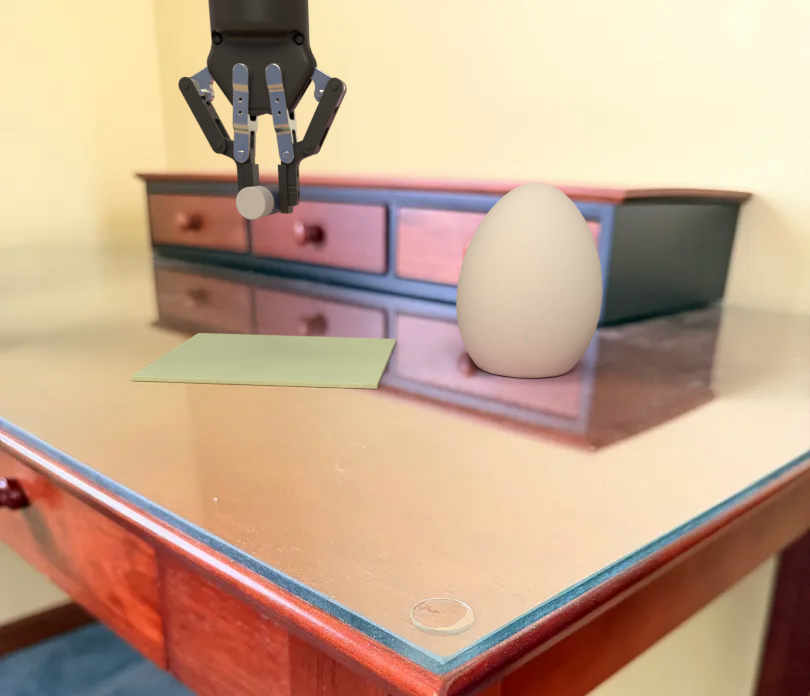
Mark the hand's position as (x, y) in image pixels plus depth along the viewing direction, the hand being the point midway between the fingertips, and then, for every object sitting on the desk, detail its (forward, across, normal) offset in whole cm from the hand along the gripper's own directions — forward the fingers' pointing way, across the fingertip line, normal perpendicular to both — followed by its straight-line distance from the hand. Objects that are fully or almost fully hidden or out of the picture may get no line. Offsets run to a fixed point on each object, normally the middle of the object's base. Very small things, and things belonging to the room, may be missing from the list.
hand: (270, 211), depth 68 cm
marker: (0, 0, 0) cm, 0 cm away
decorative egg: (+13, -22, 0) cm, 25 cm away
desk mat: (+12, 0, 0) cm, 12 cm away
